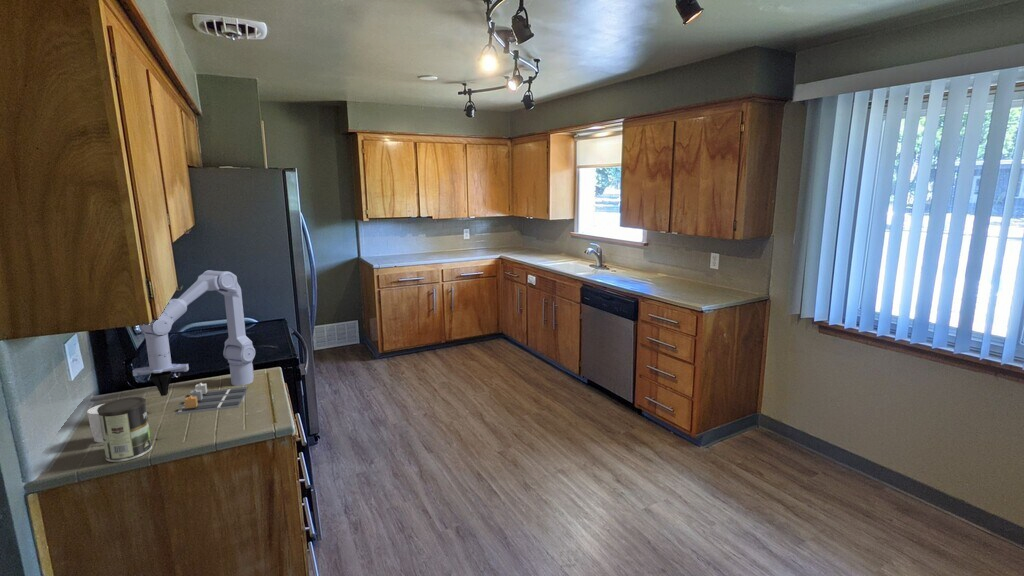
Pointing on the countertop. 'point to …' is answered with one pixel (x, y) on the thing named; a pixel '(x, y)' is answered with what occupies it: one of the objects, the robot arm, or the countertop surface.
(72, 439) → the countertop surface
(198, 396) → the cube with peg
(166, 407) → the countertop surface
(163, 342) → the robot arm
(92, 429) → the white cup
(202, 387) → the cube with tab
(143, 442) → the coffee can
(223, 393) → the control board
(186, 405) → the orange slider knob
